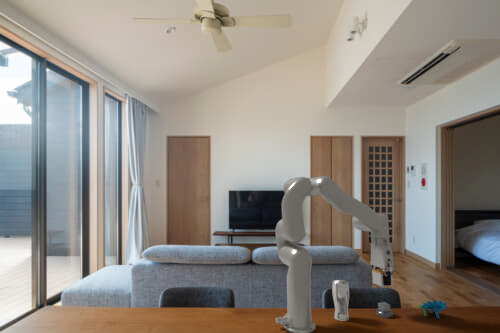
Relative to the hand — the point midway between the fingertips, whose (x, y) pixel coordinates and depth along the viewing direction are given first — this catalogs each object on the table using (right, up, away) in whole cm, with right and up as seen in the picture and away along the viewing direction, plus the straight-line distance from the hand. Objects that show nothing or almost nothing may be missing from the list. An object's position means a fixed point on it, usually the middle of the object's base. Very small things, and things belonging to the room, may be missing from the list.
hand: (382, 282), depth 128 cm
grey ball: (0, -14, -2) cm, 14 cm away
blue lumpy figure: (+21, -14, -2) cm, 26 cm away
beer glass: (-20, -14, -5) cm, 24 cm away
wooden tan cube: (0, -1, 0) cm, 1 cm away
